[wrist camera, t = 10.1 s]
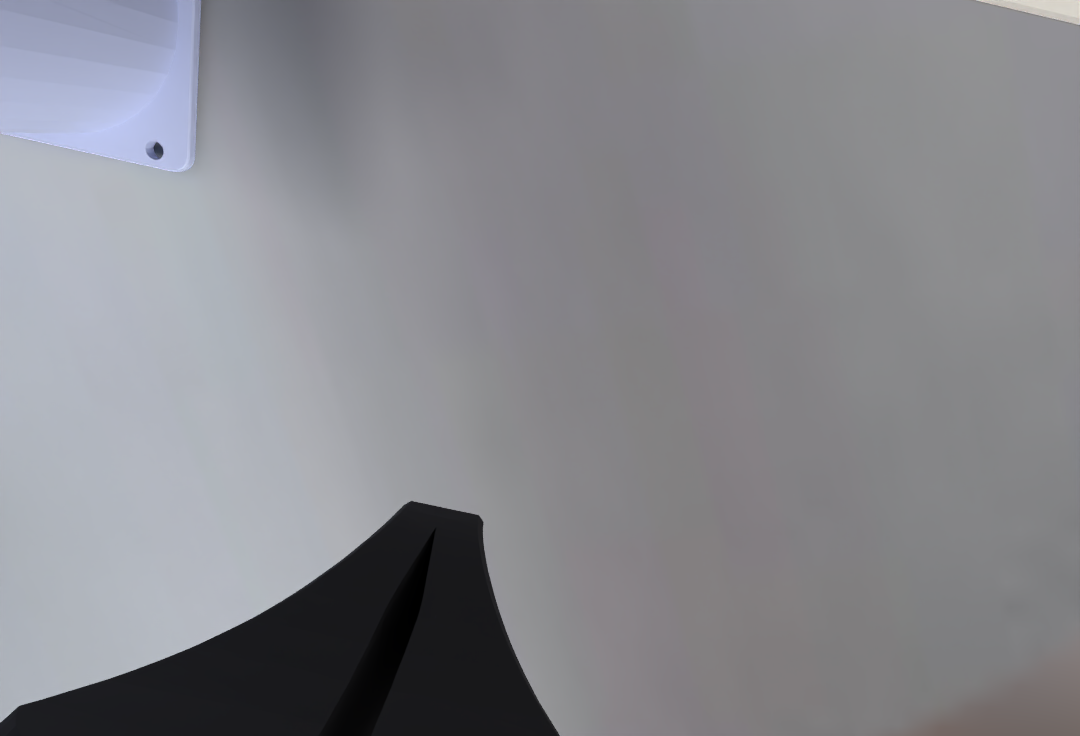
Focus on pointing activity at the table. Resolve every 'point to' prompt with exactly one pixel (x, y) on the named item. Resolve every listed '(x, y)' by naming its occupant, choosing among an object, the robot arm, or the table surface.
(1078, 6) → the mat
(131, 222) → the table surface
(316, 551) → the table surface
